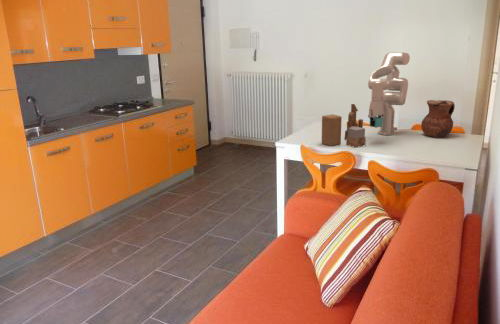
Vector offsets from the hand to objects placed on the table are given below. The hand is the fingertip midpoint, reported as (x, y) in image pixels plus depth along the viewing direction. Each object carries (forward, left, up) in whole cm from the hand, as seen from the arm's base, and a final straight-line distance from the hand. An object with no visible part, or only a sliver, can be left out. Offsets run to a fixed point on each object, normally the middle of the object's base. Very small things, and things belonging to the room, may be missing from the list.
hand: (376, 124), depth 282 cm
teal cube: (0, 0, -1) cm, 1 cm away
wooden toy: (+1, -20, -13) cm, 24 cm away
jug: (-50, +12, -13) cm, 53 cm away
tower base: (+15, -4, -13) cm, 20 cm away
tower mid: (+15, -4, -7) cm, 17 cm away
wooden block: (+26, -17, -13) cm, 33 cm away
